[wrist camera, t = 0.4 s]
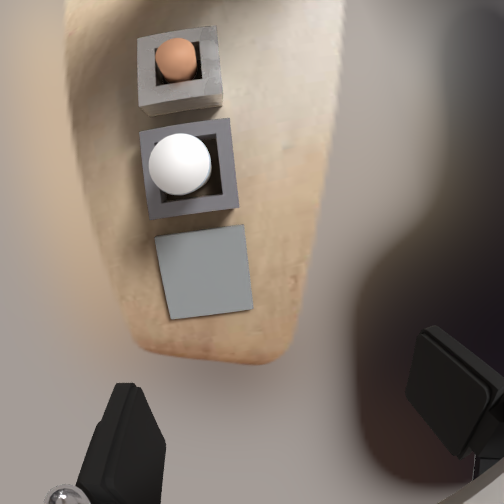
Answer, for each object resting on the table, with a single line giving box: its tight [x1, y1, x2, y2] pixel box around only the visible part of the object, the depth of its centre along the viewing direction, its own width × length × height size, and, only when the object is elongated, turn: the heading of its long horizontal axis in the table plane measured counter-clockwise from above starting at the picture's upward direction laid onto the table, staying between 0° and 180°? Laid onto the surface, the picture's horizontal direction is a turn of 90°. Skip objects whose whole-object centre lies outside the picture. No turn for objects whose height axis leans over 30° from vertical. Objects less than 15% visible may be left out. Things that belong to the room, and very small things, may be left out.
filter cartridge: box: [149, 133, 212, 195], centre depth 28 cm, size 5×5×12 cm
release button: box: [155, 38, 197, 84], centre depth 26 cm, size 4×4×5 cm
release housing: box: [137, 26, 223, 117], centre depth 28 cm, size 9×9×6 cm
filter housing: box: [139, 118, 239, 220], centre depth 32 cm, size 10×10×4 cm
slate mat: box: [155, 224, 254, 319], centre depth 37 cm, size 11×11×1 cm
